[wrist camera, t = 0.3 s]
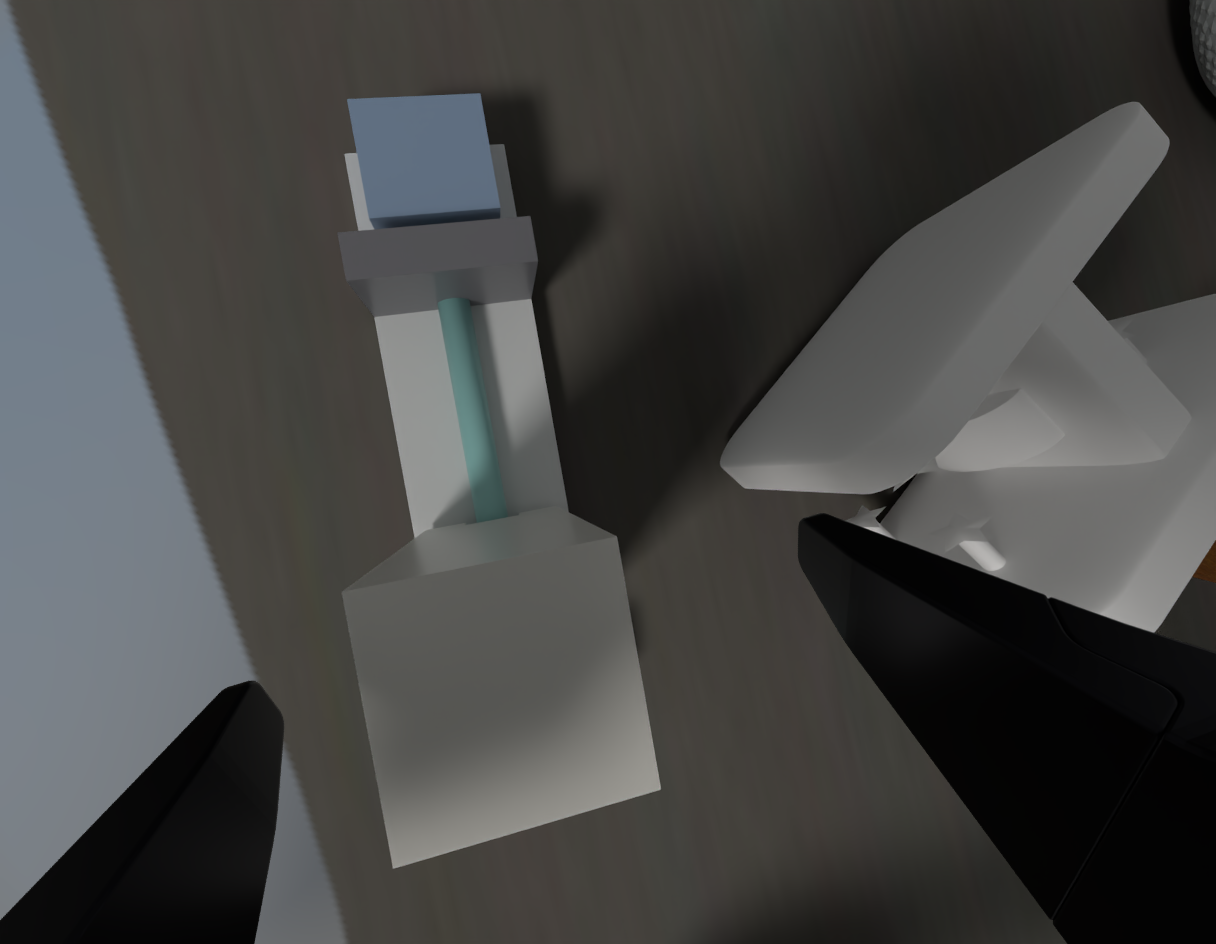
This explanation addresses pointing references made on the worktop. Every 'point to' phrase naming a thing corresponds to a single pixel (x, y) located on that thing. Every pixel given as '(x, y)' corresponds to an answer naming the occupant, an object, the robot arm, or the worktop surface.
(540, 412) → the cord rail
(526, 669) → the grey rectangular box
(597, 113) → the worktop surface
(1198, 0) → the cereal bowl
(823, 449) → the cable organizer
